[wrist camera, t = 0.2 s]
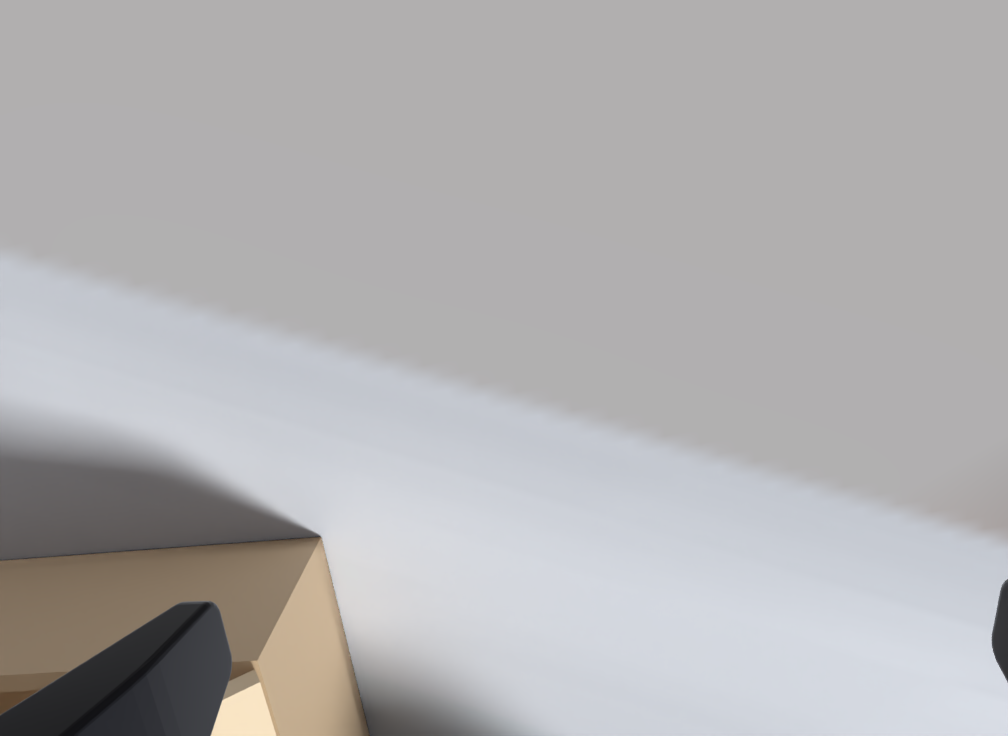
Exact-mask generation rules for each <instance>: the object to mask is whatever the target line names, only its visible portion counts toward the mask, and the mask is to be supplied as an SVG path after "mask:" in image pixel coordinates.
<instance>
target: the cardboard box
mask: <svg viewBox="0 0 1008 736" xmlns="http://www.w3.org/2000/svg"><path fill="white" fill-rule="evenodd" d="M187 601H212V602H214V603H215V604H216V605H217V606H218V607H219V610H220V612H221V616H222V620H223V624H224V628H225V631H226V635H227V639H228V643H229V647H230V651H231V655H232V670H231V675H230V679H229V681H231V680H233V679H235V678H237V677H239V676H241V675H244V674H246V673H248V672H250V671H252V670H254V669H255V671H256V673H257V676H258V678H259V681H260V683H261V687H262V690H263V693H264V697H265V700H266V703H267V706H268V710H269V713H270V716H271V720H272V723H273V726H274V730H275V733H276V736H370V735H369V731H368V727H367V722H366V718H365V714H364V710H363V706H362V702H361V698H360V694H359V690H358V686H357V682H356V677H355V673H354V669H353V665H352V661H351V657H350V653H349V649H348V645H347V641H346V636H345V632H344V628H343V624H342V620H341V616H340V612H339V608H338V604H337V600H336V596H335V591H334V587H333V583H332V579H331V575H330V571H329V567H328V563H327V559H326V555H325V550H324V546H323V542H322V538H321V537H312V538H299V539H285V540H272V541H258V542H245V543H232V544H218V545H205V546H191V547H178V548H164V549H151V550H138V551H124V552H111V553H97V554H84V555H71V556H57V557H44V558H30V559H17V560H3V561H0V715H1V714H2V713H4V712H6V711H7V710H9V709H10V708H12V707H14V706H15V705H17V704H18V703H20V702H22V701H23V700H25V699H26V698H28V697H29V696H31V695H33V694H34V693H36V692H37V691H39V690H41V689H42V688H44V687H45V686H47V685H49V684H50V683H52V682H53V681H55V680H57V679H58V678H60V677H61V676H63V675H64V674H66V673H68V672H69V671H71V670H72V669H74V668H76V667H77V666H79V665H80V664H82V663H84V662H85V661H87V660H88V659H90V658H92V657H93V656H95V655H96V654H98V653H99V652H101V651H103V650H104V649H106V648H107V647H109V646H111V645H112V644H114V643H115V642H117V641H119V640H120V639H122V638H123V637H125V636H127V635H128V634H130V633H131V632H133V631H134V630H136V629H138V628H139V627H141V626H142V625H144V624H146V623H147V622H149V621H150V620H152V619H154V618H155V617H157V616H158V615H160V614H162V613H163V612H165V611H166V610H168V609H170V608H171V607H173V606H174V605H176V604H178V603H181V602H187Z"/></svg>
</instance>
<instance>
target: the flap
mask: <svg viewBox="0 0 1008 736" xmlns="http://www.w3.org/2000/svg"><path fill="white" fill-rule="evenodd" d="M211 736H276V733H275V730H274V726H273V723H272V720H271V716H270V713H269V710H268V706H267V703H266V700H265V697H264V693H263V690H262V687H261V683H260V681H259V678H258V676H257V673H256V671H255V669H254V670H252V671H250V672H248V673H246V674H244V675H241V676H239V677H237V678H235V679H233V680H231V681H229V682H228V685H227V688H226V691H225V694H224V697H223V700H222V703H221V706H220V709H219V712H218V715H217V718H216V722H215V725H214V728H213V731H212V734H211Z"/></svg>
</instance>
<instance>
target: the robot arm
mask: <svg viewBox="0 0 1008 736" xmlns="http://www.w3.org/2000/svg"><path fill="white" fill-rule="evenodd" d="M992 648H993V652H994V655H995V658H996V660H997V663H998V665H999V667H1000V668H1001V670H1002V672H1003V674H1004V676H1005V678H1006V680H1007V682H1008V579H1007V580H1006V581H1005V582H1004V583H1003V585H1002V588H1001V591H1000V596H999V601H998V606H997V612H996V617H995V622H994V627H993V632H992ZM231 670H232V655H231V651H230V647H229V643H228V639H227V635H226V631H225V628H224V624H223V620H222V616H221V612H220V610H219V607H218V606H217V605H216V604H215V603H214V602H212V601H187V602H181V603H178V604H176V605H174V606H173V607H171V608H170V609H168V610H166V611H165V612H163V613H162V614H160V615H158V616H157V617H155V618H154V619H152V620H150V621H149V622H147V623H146V624H144V625H142V626H141V627H139V628H138V629H136V630H134V631H133V632H131V633H130V634H128V635H127V636H125V637H123V638H122V639H120V640H119V641H117V642H115V643H114V644H112V645H111V646H109V647H107V648H106V649H104V650H103V651H101V652H99V653H98V654H96V655H95V656H93V657H92V658H90V659H88V660H87V661H85V662H84V663H82V664H80V665H79V666H77V667H76V668H74V669H72V670H71V671H69V672H68V673H66V674H64V675H63V676H61V677H60V678H58V679H57V680H55V681H53V682H52V683H50V684H49V685H47V686H45V687H44V688H42V689H41V690H39V691H37V692H36V693H34V694H33V695H31V696H29V697H28V698H26V699H25V700H23V701H22V702H20V703H18V704H17V705H15V706H14V707H12V708H10V709H9V710H7V711H6V712H4V713H2V714H1V715H0V736H211V734H212V731H213V728H214V725H215V722H216V718H217V715H218V712H219V709H220V706H221V703H222V700H223V697H224V694H225V691H226V688H227V685H228V682H229V679H230V675H231Z"/></svg>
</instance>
